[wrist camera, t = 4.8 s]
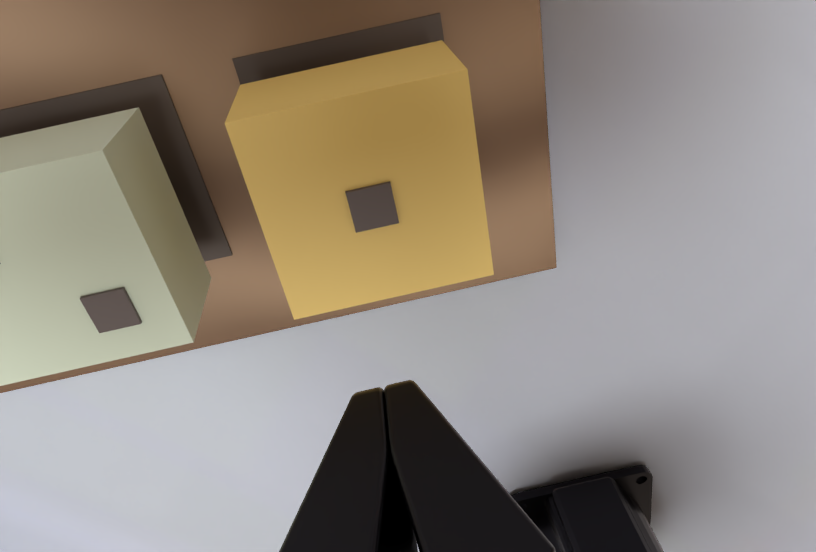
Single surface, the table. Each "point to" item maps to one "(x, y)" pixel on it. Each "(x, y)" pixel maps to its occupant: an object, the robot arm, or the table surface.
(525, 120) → the button board
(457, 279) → the mustard tile
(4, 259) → the sage tile
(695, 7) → the table surface
